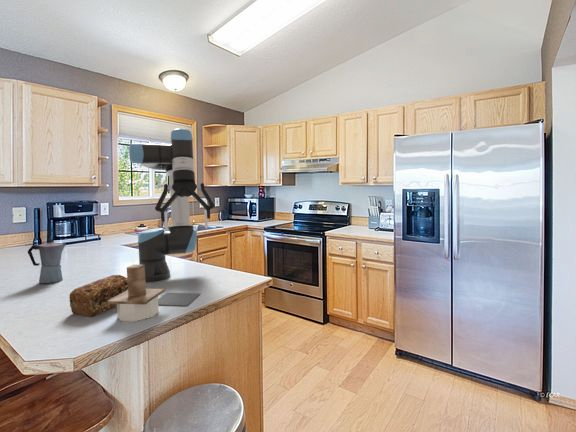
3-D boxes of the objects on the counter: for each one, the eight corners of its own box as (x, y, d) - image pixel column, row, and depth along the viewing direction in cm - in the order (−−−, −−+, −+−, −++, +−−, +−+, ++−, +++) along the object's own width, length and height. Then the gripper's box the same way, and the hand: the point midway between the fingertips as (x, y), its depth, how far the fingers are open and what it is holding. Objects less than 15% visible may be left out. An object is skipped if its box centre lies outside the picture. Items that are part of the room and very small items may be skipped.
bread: (115, 296, 128) (113, 272, 127) (135, 300, 124) (134, 274, 123) (68, 314, 110) (66, 286, 109) (90, 318, 106) (88, 289, 105)
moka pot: (73, 278, 154) (70, 237, 152) (37, 287, 140) (34, 242, 138) (61, 276, 158) (58, 236, 156) (25, 285, 144) (21, 241, 142)
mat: (150, 305, 117) (150, 304, 117) (167, 293, 130) (167, 292, 130) (187, 306, 116) (187, 305, 116) (200, 294, 129) (200, 293, 129)
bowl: (110, 320, 104) (109, 302, 104) (132, 306, 116) (131, 290, 116) (145, 321, 103) (144, 303, 102) (163, 307, 115) (162, 291, 114)
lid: (107, 303, 103) (104, 270, 102) (130, 290, 116) (129, 261, 115) (145, 304, 102) (143, 271, 101) (164, 291, 115) (163, 261, 114)
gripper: (144, 168, 109) (147, 230, 106) (219, 168, 116) (223, 225, 114) (147, 174, 116) (150, 232, 113) (217, 173, 123) (221, 228, 121)
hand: (186, 229), depth 113 cm, fingers open, 13 cm apart
